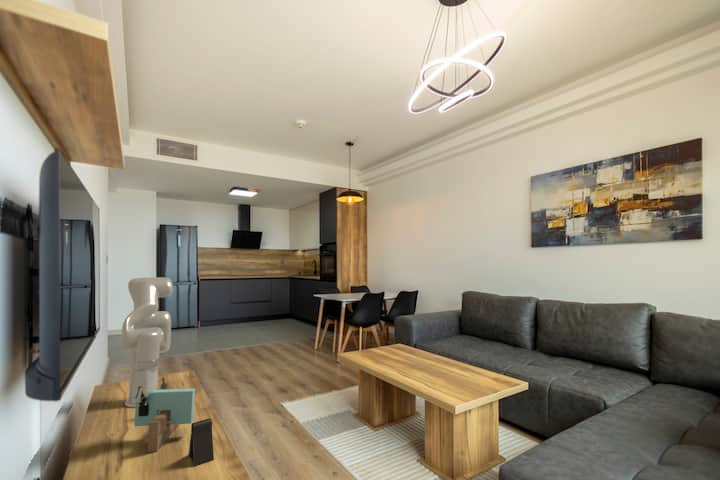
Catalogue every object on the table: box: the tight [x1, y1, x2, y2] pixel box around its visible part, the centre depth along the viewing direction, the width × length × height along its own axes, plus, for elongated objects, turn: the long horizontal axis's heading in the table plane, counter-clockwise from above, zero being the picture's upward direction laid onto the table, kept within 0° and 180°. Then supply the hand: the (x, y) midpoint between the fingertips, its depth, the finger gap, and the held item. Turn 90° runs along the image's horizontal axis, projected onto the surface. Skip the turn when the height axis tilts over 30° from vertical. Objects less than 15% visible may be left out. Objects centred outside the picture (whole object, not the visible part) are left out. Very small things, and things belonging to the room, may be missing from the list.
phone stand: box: [187, 418, 215, 467], centre depth 118 cm, size 9×6×12 cm, turn 38°
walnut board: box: [147, 410, 180, 453], centre depth 131 cm, size 20×3×10 cm, turn 8°
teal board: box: [134, 387, 196, 427], centre depth 131 cm, size 3×20×12 cm, turn 98°
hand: (145, 413), depth 130 cm, fingers closed on teal board, 3 cm apart
